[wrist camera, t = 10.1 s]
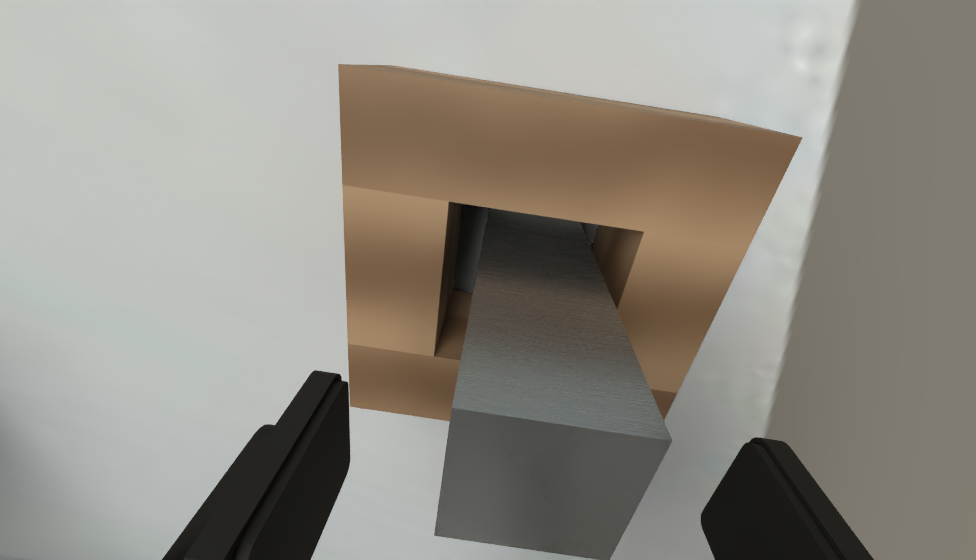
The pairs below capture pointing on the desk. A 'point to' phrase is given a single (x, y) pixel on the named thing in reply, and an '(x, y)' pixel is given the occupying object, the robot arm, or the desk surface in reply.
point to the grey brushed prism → (546, 400)
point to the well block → (539, 191)
